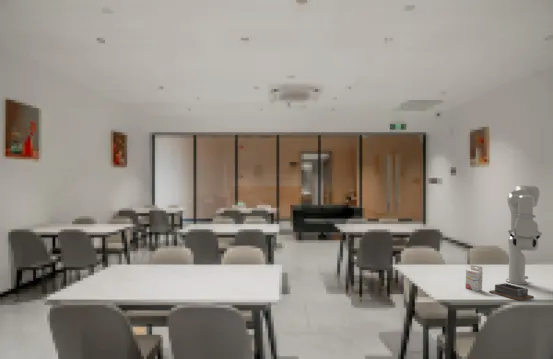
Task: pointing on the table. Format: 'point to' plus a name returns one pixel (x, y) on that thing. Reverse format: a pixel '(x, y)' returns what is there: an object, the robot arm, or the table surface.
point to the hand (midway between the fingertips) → (524, 246)
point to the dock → (511, 291)
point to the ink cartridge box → (474, 278)
